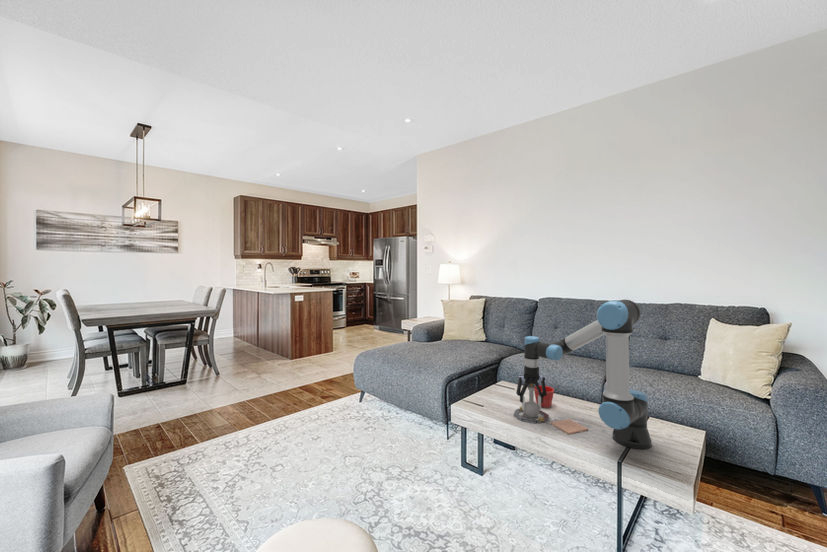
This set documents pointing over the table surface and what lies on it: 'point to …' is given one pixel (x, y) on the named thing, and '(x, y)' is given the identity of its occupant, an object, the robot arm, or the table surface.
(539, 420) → the collar
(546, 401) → the flower pot
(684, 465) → the table surface
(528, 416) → the potion bottle
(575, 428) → the coaster
